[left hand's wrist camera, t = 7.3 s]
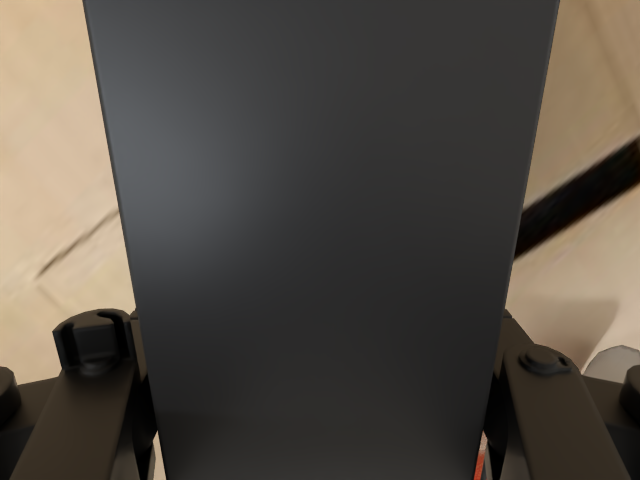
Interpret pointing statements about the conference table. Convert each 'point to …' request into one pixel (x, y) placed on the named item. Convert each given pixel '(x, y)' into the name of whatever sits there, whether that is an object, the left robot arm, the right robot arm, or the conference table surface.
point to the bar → (320, 222)
